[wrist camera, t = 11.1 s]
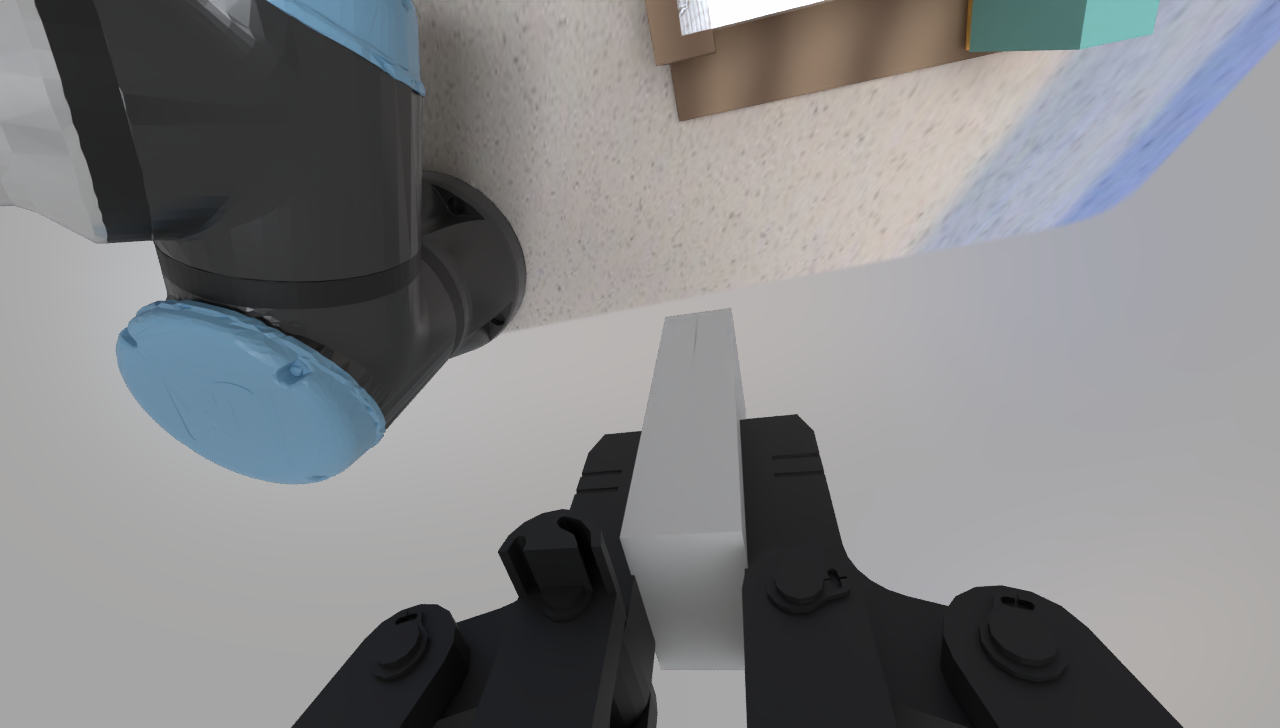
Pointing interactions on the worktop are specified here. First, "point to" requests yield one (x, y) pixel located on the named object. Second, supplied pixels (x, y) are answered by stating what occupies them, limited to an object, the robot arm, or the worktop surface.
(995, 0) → the teal square ring
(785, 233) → the worktop surface
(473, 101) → the worktop surface
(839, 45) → the stand
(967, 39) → the pair of orange bands
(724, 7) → the grey square bar
